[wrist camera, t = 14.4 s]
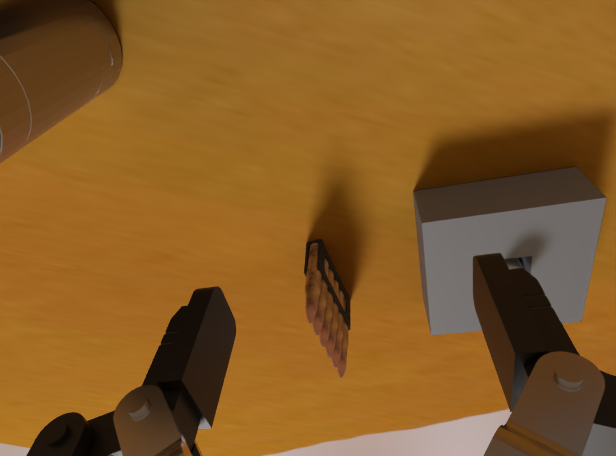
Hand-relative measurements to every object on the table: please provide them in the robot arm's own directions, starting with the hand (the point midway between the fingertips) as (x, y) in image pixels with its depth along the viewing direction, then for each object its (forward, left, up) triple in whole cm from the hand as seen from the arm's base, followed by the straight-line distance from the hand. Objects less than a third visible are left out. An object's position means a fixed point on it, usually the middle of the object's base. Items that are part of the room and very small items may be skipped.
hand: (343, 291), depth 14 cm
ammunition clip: (-6, -25, -30) cm, 40 cm away
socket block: (+13, -23, -30) cm, 40 cm away
